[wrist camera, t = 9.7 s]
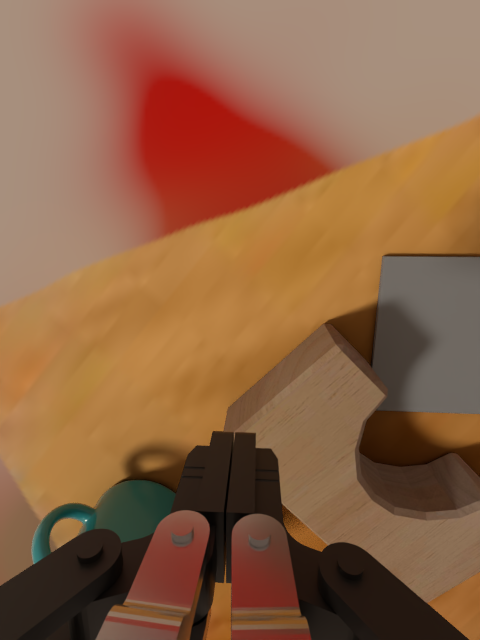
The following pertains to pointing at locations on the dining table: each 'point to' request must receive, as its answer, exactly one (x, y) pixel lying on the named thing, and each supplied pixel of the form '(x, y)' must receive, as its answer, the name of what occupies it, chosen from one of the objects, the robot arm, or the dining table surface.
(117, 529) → the cup
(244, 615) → the robot arm
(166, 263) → the dining table surface
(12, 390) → the dining table surface
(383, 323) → the mat
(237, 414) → the decorative block
